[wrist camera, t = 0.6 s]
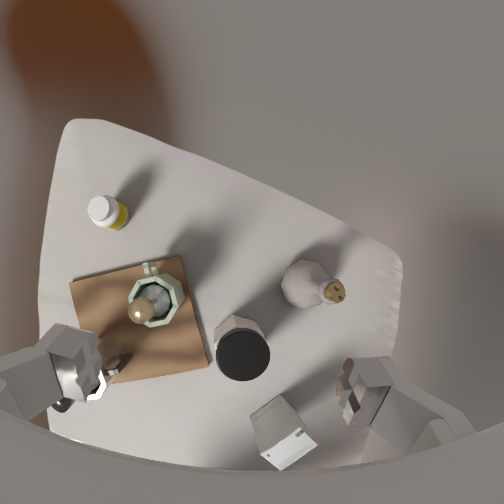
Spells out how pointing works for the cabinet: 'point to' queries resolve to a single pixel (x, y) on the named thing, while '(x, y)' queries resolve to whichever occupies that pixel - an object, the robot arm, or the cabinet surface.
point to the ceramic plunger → (149, 304)
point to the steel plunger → (70, 400)
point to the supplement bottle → (108, 212)
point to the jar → (241, 349)
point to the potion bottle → (310, 285)
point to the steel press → (109, 363)
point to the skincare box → (281, 433)
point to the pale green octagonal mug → (168, 284)
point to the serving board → (139, 335)
